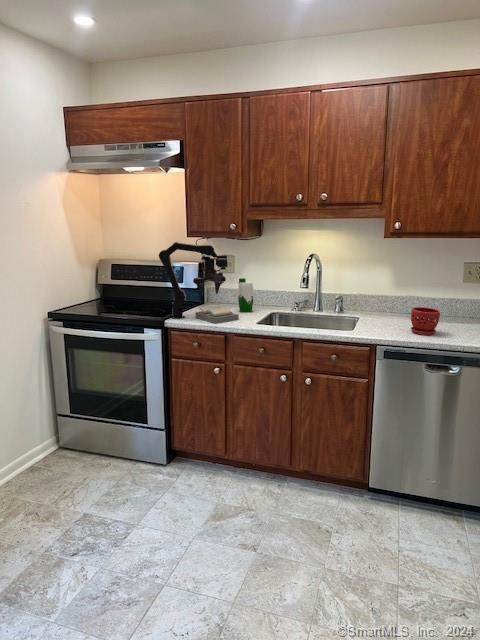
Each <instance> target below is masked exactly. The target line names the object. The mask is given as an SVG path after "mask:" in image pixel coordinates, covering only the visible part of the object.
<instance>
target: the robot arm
mask: <svg viewBox="0 0 480 640" xmlns="http://www.w3.org/2000/svg"><path fill="white" fill-rule="evenodd" d="M176 251H185V252H192V253H194V252H195V253H198V254H202V255H203V256H201V258H200V260H201V261H203V260H204V261H203V262H204V263H203V264H204V268H203V272H204V276H203V277H194V278H193V280H192V281H193V284H195V285H196V286H197V287H198V289H199V291H200V293H201V295H202V296H205V285H206V284H205V282H212V283H214V291H215V295H217V294H218V293H219V290H220V287H221V285H222V284H225V282H226V280H227V279H226V277H225V276H224V273H223V272H217V269H215V266H216V267H217V268H229V267H228V266H229V265H228V263H229V261H228V255H227V254H225V255H224V254H223V255H218V254H217V253H216V251H215V247H214V246H213V245H210V244H201V245H196V244H188V243H182V242H178V241H176V242H173V244H172V245H170V246H169V247H168V248H167V249H162V250H161V251H160V252H159V254H158V259H159V260H160V262H161V264H162V265H163V267H164V268H165V271H166V274H167V276H168V279H169V282H170V284H171V288H172V290H173V297H174V300H173V301H172V303H171V311H172V312H171V313H172V314H171V316H173V317H174V318H173V319H175V318H177V319H182V317H183V318H185V315H183V305H184V304H185V302H186V299H187V295H186V293H185V290H184V289H181V287H180V284H179V282H178V278H177V277H176V273H175V271H174V268H173V265H172V258H171V255H172V254H173V253H175V252H176Z"/></svg>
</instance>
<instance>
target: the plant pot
mask: <svg viewBox="0 0 480 640" xmlns="http://www.w3.org/2000/svg"><path fill="white" fill-rule="evenodd" d="M410 314H411V315H410V320H411V321H410V322H411V327H410V330H411V332H412V333H413V334H417V335H423V336H429V335H434V334H435V333H436V331H437V330H436V328H437V326H438V324H439V322H440V318H441V317H440V315H441V311H440V310H439V309H435V308H431V307H420V306H418V307H412V308H411V312H410Z"/></svg>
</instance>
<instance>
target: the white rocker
mask: <svg viewBox="0 0 480 640" xmlns="http://www.w3.org/2000/svg"><path fill="white" fill-rule="evenodd" d="M216 308H222V307H221V306H219V305H217V304H213V305H206V306H205V305H204V306H200V307H199V308H198V309H199V311H200V312H204V313H208V312H209V309H216Z"/></svg>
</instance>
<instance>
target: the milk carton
mask: <svg viewBox="0 0 480 640" xmlns="http://www.w3.org/2000/svg"><path fill="white" fill-rule="evenodd" d="M253 286H254V285H253V281H252V280H251V281H248V280H246V278H244V277H242V278H238V289H237V290H238V291H237V292H238V295H237V297H238V308H239V309H238V310H239V312H240V313H253V306H254V287H253Z"/></svg>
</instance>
